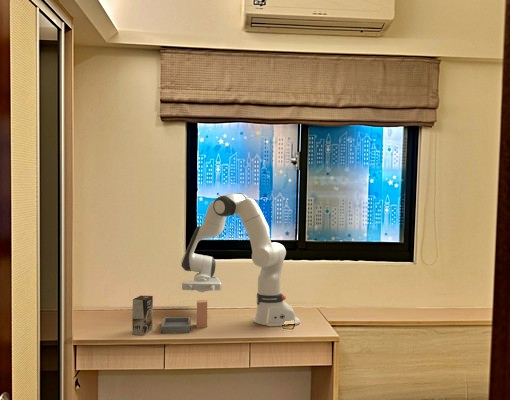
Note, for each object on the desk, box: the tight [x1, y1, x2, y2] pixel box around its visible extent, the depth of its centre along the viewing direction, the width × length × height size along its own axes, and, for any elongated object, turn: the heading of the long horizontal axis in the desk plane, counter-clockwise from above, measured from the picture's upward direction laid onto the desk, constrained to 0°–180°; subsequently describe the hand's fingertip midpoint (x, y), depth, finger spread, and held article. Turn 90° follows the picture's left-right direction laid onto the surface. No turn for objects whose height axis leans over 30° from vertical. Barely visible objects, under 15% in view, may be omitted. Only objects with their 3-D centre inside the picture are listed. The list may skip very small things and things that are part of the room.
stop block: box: [196, 299, 208, 328], centre depth 251 cm, size 5×5×12 cm
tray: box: [160, 316, 192, 334], centre depth 247 cm, size 13×16×3 cm
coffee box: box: [131, 295, 154, 336], centre depth 239 cm, size 9×6×16 cm
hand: (201, 289), depth 262 cm, fingers open, 8 cm apart
